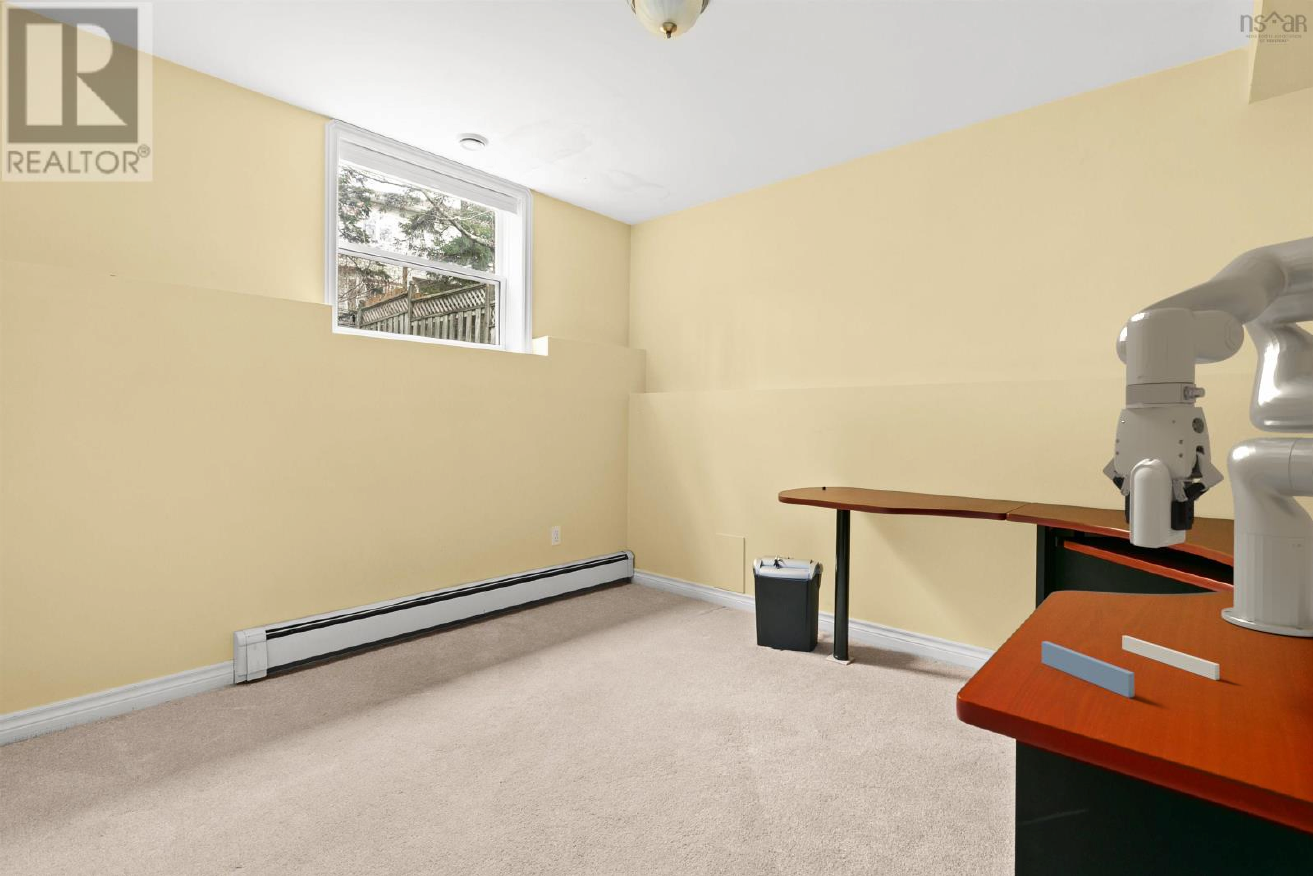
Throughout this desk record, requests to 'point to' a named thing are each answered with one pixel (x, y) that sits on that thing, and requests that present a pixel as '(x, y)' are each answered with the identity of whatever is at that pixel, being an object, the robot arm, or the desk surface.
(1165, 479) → the photo printer
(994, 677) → the desk surface
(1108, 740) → the desk surface
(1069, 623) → the desk surface
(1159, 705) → the desk surface
